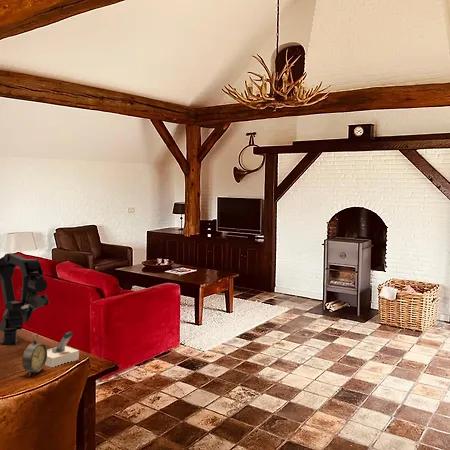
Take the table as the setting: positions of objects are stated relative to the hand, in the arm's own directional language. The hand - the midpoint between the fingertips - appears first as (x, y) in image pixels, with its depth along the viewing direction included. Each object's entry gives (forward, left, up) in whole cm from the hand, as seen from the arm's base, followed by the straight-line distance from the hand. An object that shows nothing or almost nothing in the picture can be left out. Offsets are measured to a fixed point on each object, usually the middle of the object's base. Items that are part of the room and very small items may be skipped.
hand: (26, 322), depth 210 cm
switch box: (+11, +16, -13) cm, 23 cm away
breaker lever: (+11, +16, -9) cm, 21 cm away
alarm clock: (+26, +9, -13) cm, 31 cm away
